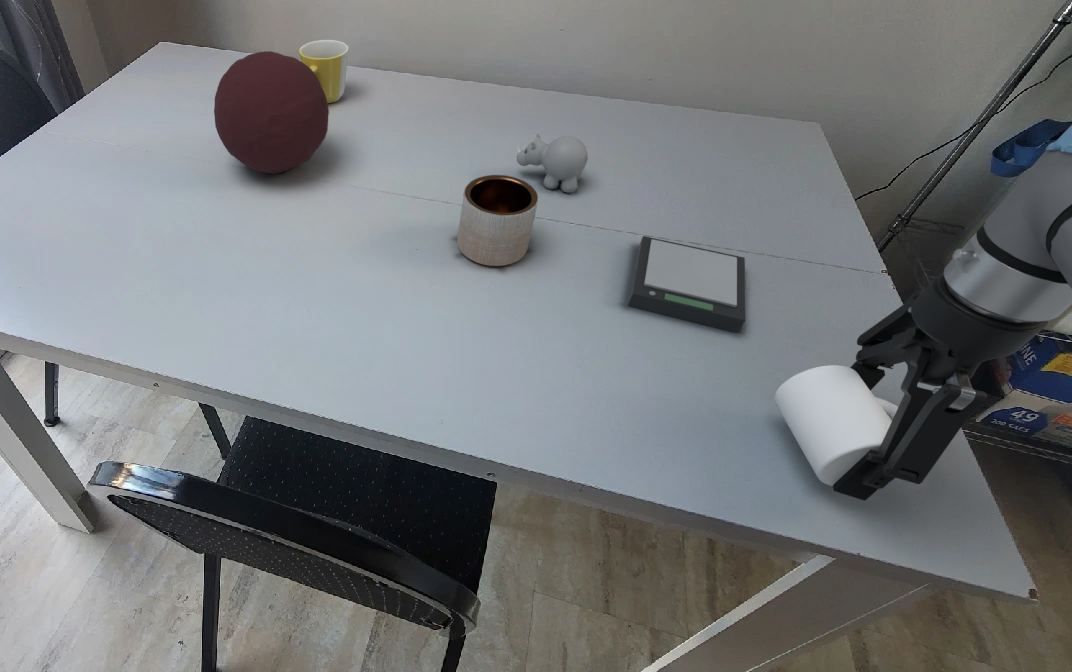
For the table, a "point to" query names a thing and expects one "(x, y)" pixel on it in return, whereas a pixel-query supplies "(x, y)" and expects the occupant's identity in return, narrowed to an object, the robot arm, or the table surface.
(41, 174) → the table surface
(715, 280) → the scale
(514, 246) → the planter
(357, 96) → the table surface
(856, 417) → the mug
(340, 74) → the mug
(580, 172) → the chubby cartoon animal
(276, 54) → the decorative sphere
